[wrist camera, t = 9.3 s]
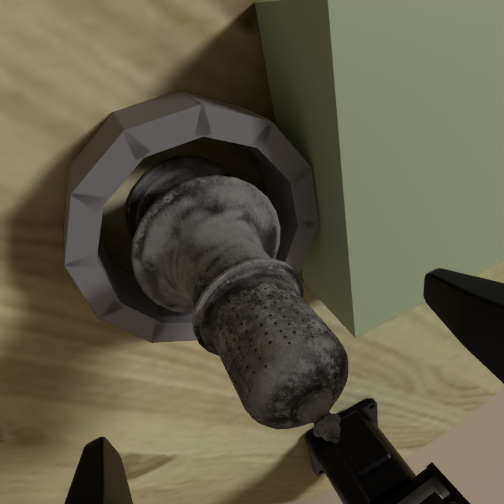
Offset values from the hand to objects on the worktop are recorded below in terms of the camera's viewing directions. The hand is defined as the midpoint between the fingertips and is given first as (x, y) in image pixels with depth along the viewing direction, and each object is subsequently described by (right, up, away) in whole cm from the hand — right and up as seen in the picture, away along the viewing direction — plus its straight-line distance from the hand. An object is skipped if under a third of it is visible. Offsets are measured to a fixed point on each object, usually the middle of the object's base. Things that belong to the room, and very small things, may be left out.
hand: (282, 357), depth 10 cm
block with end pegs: (+1, +6, +9) cm, 11 cm away
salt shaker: (-4, +4, +8) cm, 10 cm away
